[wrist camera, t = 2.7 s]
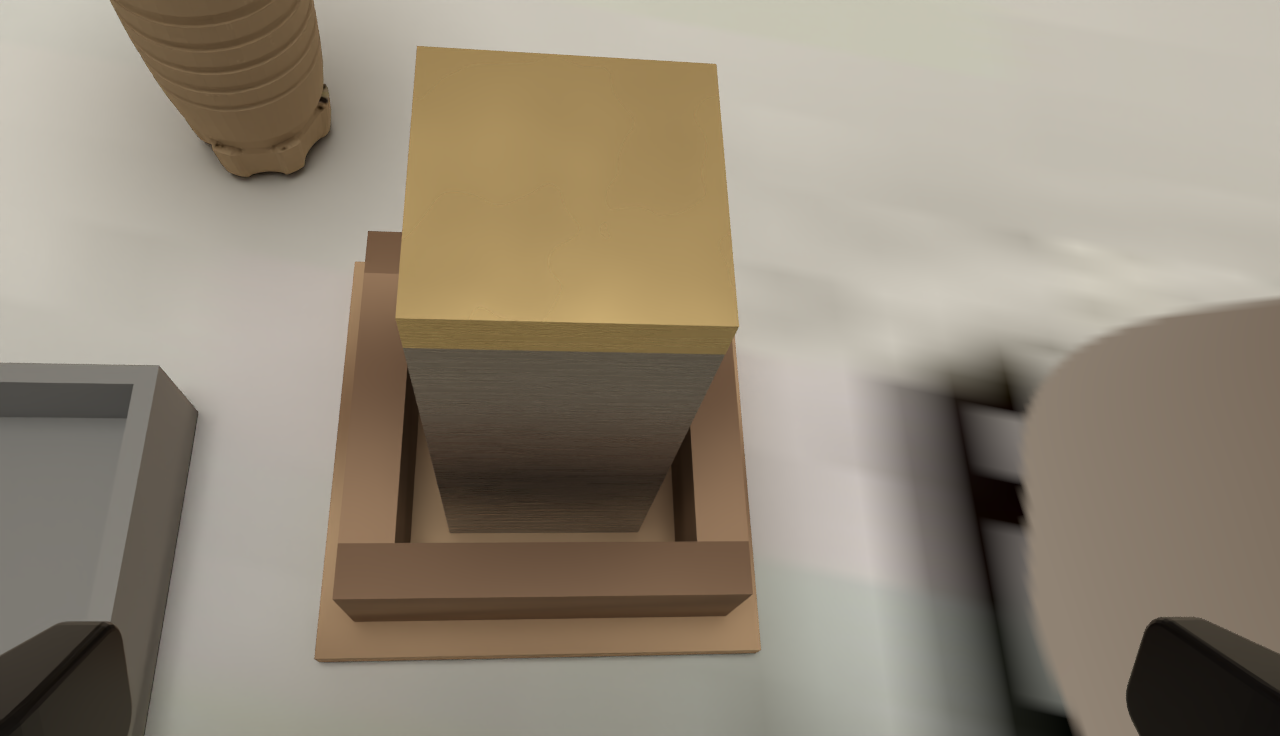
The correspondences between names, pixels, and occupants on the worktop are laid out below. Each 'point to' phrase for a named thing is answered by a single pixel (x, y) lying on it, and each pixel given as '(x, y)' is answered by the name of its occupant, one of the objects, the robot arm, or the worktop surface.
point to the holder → (519, 534)
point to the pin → (561, 280)
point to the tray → (91, 503)
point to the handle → (238, 74)
